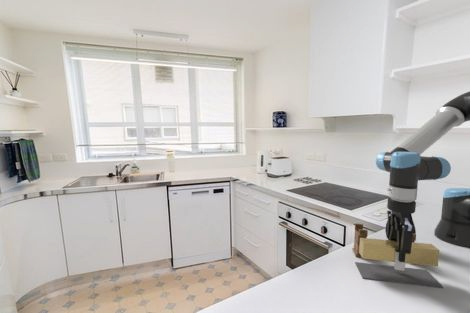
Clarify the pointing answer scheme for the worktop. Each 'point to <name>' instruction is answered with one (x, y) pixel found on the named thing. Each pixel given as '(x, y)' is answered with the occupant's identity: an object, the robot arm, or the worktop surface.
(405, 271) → the mat
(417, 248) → the rail
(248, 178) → the worktop surface
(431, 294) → the worktop surface
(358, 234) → the rack
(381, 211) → the worktop surface
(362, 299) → the worktop surface
